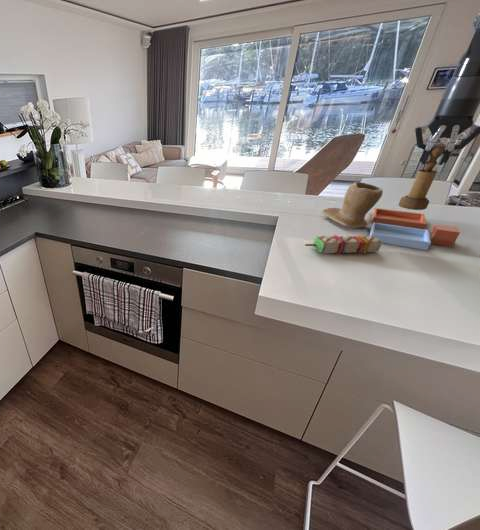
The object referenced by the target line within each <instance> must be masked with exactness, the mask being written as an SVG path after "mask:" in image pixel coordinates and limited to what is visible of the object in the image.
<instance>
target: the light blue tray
mask: <svg viewBox="0 0 480 530" xmlns="http://www.w3.org/2000/svg"><path fill="white" fill-rule="evenodd" d="M429 235H430V233H429V230H428V229H425V228H424V229H417V228H410V227H403V226H396V225H389V224H381V223H374V222H373V224H371V227H370V230H369V236H374V237H376V238H377V239H379V240H380V241H382V244H388V245H392V246H393V245H394V246H399V247H406V248H412V249H417V250H423V251H428V250H429V247H430V246H431V245H432V244H431V241H430V236H429Z"/></svg>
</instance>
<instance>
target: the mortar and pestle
mask: <svg viewBox="0 0 480 530" xmlns="http://www.w3.org/2000/svg"><path fill="white" fill-rule="evenodd" d="M445 150H446V147H445V146H444V145H435V146H433V147H432V148H431V149H430V151H431V152H430V154H429V158H430V159H429V160H427V161H426V163H425V168H424V169H419V170H418V172H417V174H416V176H415V179H414V181H413V183H412V186H411V188H410V190H409V193H408V194H407V195H404V196H402V197H400V200H399V201H398V205H397V206H399V207H400V208H403V209H406V210H414V211H423V210H424V211H425V210H427V208H428V207H429V204H430V199H429V198H428V197H426V196H427V194H428V193H429V190H430V188H431V186H432V184H433V182H434V180H435V178H436V176H437V173H438V170H436V169H434V168H435V167H436V166H437V165H438V162H437V160H438V159H440V158H441V156H442V154H443V153H444V152H445Z"/></svg>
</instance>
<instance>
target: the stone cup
mask: <svg viewBox="0 0 480 530" xmlns="http://www.w3.org/2000/svg"><path fill="white" fill-rule="evenodd" d="M383 191H384V190H383V189H382V188H381V187H379V186H376V185H374V184H371V183H367V182H361V181H355V182H353V183H351V184H350V185H349V186H348V187H347V189H346V192H345V195H344V198H343V203H342V207H341V208H338V207H329V208H328V207H327V208H325V209H323V210H321V213H322V214H323V215H324V216H326V217H327V218H329V219H331V220H333V221H334V222H336V223H338V224H340V225H341V226H344V227H347V228H356V229H357V228H365V227H367V226H368V225H369V223H368V222H367V220H366V219H365V218H366V215H367V214H368V213H369V211H371V210H372V208H373V207H375V205H376V204H377V203H379V201H380V199H381V198H382V196H383V193H384V192H383Z"/></svg>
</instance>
